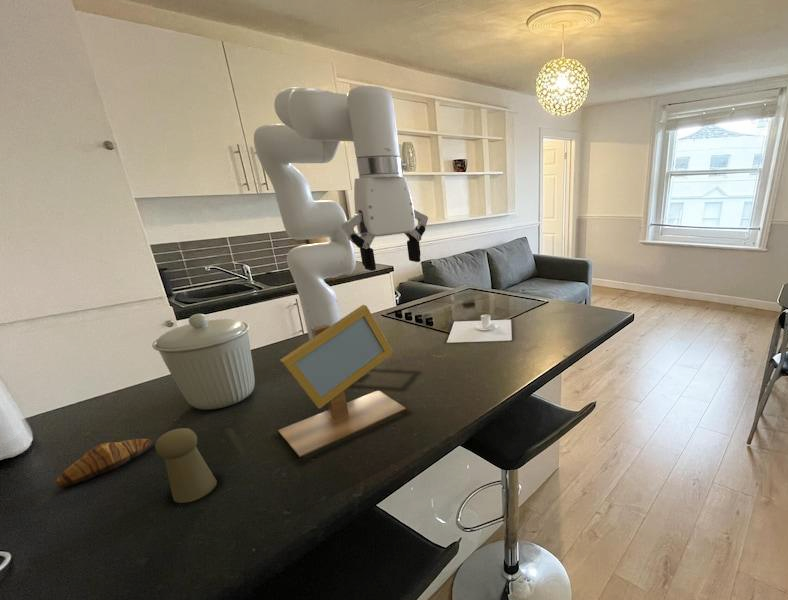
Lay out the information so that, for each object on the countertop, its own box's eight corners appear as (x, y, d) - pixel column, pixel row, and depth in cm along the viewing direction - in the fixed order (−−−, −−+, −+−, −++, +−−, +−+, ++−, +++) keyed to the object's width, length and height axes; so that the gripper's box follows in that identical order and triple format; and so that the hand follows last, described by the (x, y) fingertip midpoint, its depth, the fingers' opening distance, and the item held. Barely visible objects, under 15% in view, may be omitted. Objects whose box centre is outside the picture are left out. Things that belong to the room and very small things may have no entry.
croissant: (68, 497, 67) (54, 473, 65) (53, 484, 70) (40, 461, 69) (162, 451, 78) (153, 429, 76) (146, 442, 81) (136, 421, 79)
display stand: (279, 436, 81) (251, 338, 74) (379, 395, 95) (364, 309, 87) (301, 462, 73) (271, 355, 65) (407, 414, 87) (393, 321, 79)
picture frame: (316, 406, 79) (279, 359, 72) (389, 350, 87) (363, 304, 80) (319, 409, 78) (282, 362, 71) (393, 352, 86) (366, 305, 79)
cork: (187, 479, 70) (165, 424, 66) (224, 475, 71) (204, 421, 67) (164, 504, 65) (138, 446, 61) (203, 501, 65) (180, 443, 61)
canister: (159, 412, 92) (123, 324, 84) (232, 377, 108) (207, 300, 100) (215, 425, 86) (182, 331, 78) (284, 386, 102) (262, 305, 94)
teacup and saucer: (498, 331, 132) (497, 320, 130) (473, 332, 132) (472, 320, 130) (498, 323, 140) (498, 311, 138) (475, 323, 140) (474, 312, 139)
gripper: (410, 169, 80) (420, 256, 87) (323, 171, 69) (342, 270, 76) (432, 167, 75) (441, 260, 82) (342, 168, 64) (360, 276, 71)
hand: (393, 265), depth 79 cm, fingers open, 9 cm apart
